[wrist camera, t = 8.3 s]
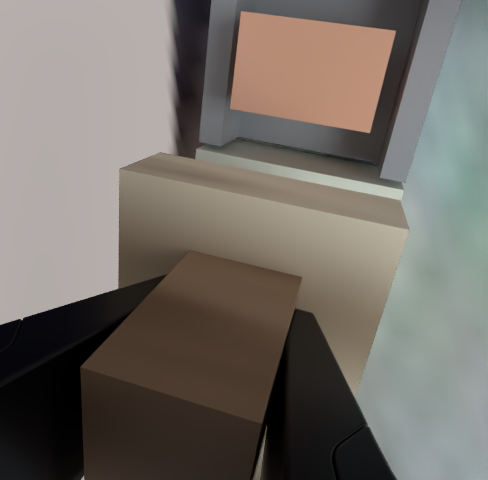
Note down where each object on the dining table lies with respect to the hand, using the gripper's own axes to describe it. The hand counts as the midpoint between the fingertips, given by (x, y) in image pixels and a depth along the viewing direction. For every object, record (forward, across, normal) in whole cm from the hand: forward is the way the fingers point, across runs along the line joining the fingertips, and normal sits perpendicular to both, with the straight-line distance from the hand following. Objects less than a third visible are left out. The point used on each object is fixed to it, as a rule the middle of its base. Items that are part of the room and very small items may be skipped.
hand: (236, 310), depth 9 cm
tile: (+6, 0, -4) cm, 7 cm away
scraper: (+2, 0, 0) cm, 2 cm away
